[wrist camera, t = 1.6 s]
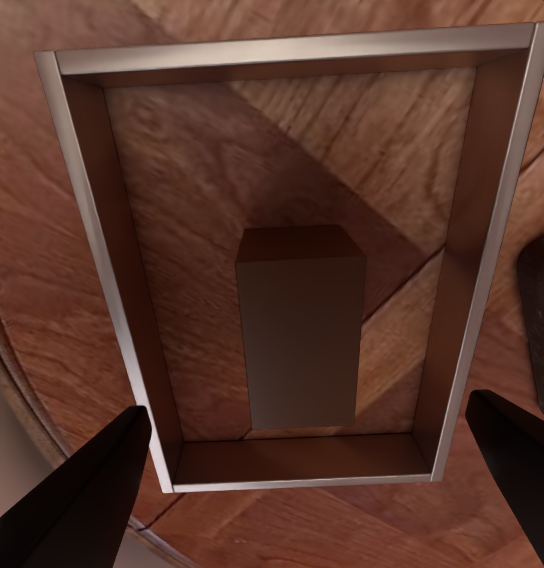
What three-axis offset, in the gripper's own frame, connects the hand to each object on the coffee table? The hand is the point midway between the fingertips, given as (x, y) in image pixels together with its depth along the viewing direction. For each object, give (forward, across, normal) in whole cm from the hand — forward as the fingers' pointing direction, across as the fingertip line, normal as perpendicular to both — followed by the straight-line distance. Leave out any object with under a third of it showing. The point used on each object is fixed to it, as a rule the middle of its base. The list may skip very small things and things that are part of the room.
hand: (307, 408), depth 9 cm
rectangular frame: (+6, 0, 0) cm, 6 cm away
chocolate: (+6, 0, 0) cm, 6 cm away
